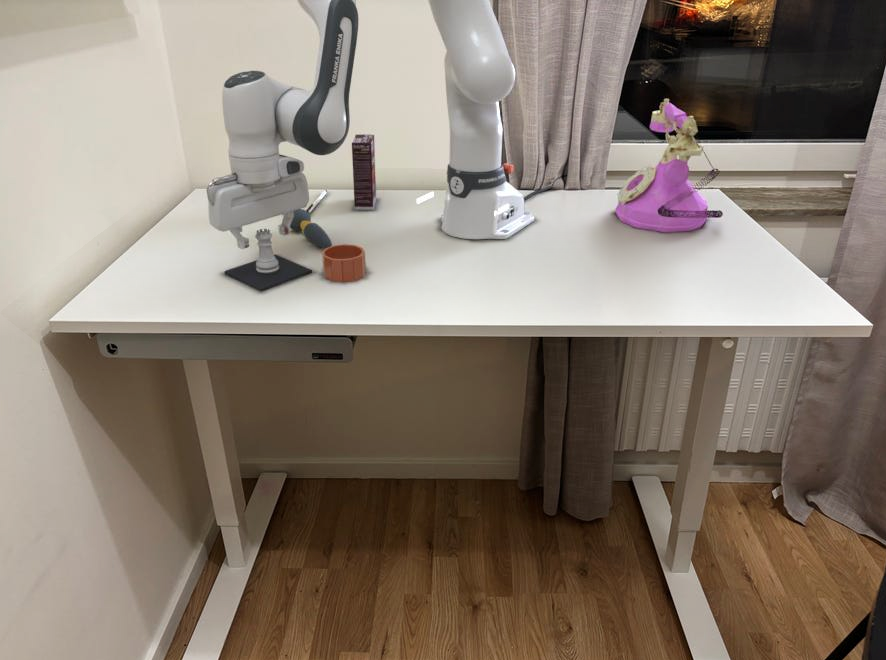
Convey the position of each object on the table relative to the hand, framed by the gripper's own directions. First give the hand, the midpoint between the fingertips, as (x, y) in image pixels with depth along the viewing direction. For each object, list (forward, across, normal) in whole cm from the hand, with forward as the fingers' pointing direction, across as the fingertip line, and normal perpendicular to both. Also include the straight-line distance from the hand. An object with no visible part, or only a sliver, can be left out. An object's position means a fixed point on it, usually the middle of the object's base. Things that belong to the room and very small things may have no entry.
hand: (264, 240), depth 141 cm
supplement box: (+7, +41, +17) cm, 45 cm away
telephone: (+7, +78, -44) cm, 90 cm away
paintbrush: (+7, +18, +9) cm, 21 cm away
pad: (+7, 0, 0) cm, 7 cm away
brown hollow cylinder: (+7, +10, -11) cm, 16 cm away
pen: (+7, +33, +26) cm, 43 cm away
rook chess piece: (+6, 0, 0) cm, 6 cm away
